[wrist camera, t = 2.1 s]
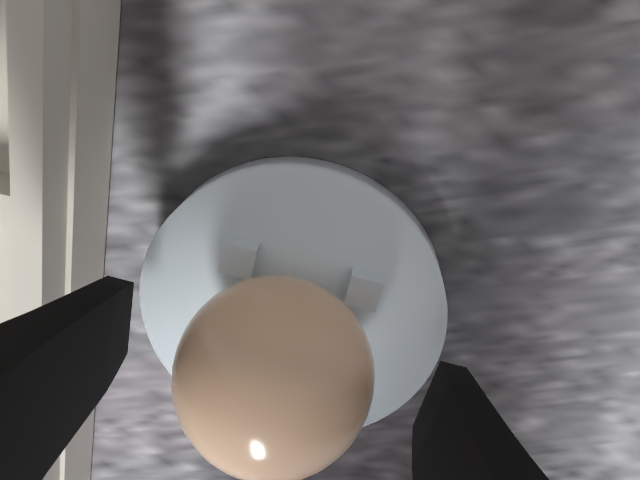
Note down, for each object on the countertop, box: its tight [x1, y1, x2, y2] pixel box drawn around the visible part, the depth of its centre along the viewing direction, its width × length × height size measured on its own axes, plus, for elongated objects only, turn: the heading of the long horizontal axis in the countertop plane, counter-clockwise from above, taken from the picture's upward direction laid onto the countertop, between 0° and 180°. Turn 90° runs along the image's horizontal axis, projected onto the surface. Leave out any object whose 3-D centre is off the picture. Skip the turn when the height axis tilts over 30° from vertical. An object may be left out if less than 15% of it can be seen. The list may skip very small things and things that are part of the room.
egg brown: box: [171, 275, 375, 480], centre depth 12 cm, size 4×4×4 cm
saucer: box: [139, 156, 448, 427], centre depth 14 cm, size 8×8×2 cm
